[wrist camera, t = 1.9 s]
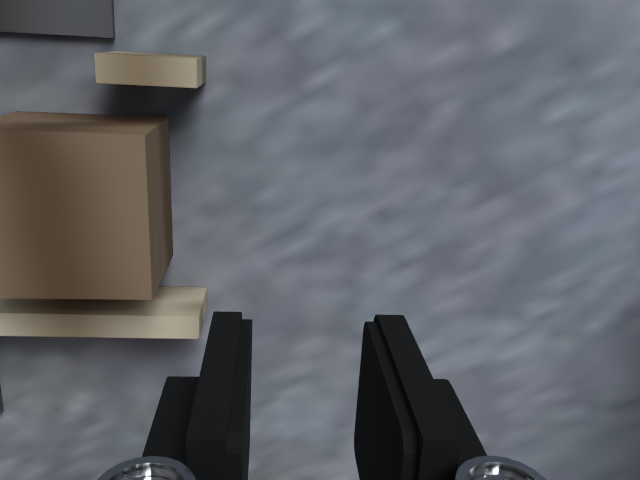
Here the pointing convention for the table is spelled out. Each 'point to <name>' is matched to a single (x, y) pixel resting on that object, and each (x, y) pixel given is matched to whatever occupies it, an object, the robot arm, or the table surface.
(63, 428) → the table surface
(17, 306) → the trap lane
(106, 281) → the block
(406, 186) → the table surface
